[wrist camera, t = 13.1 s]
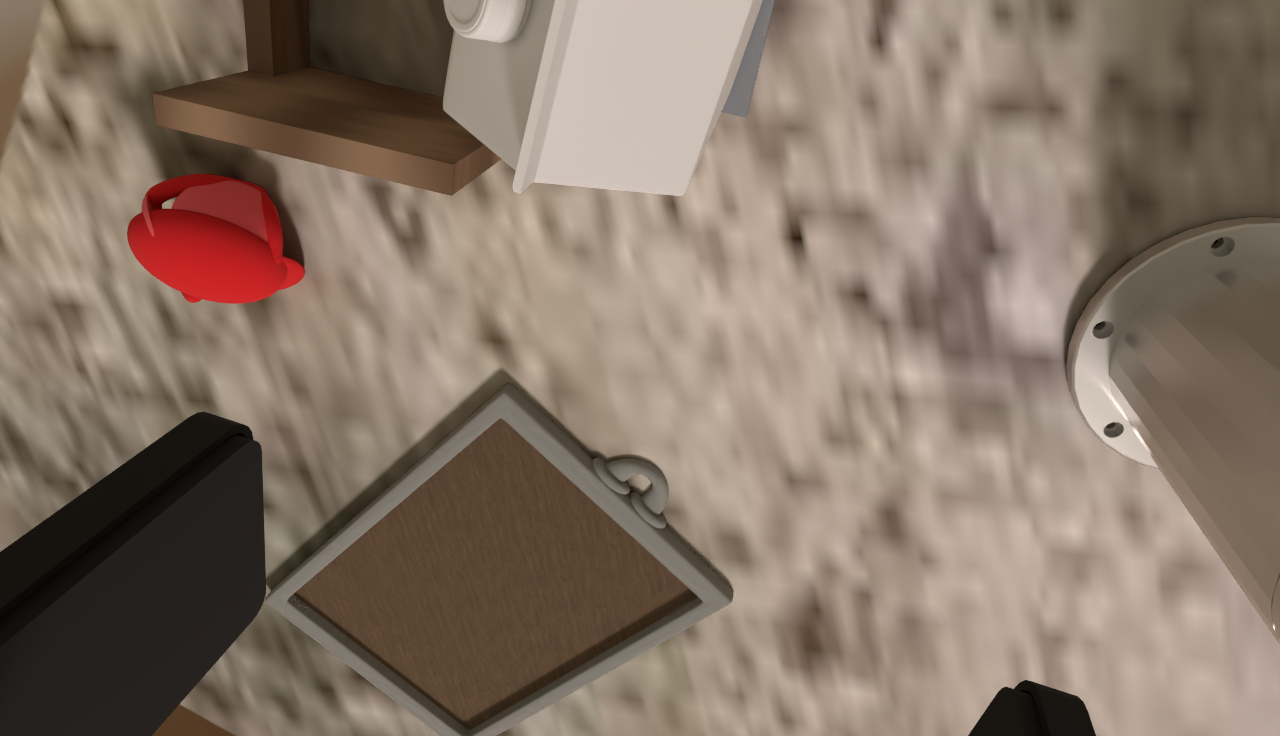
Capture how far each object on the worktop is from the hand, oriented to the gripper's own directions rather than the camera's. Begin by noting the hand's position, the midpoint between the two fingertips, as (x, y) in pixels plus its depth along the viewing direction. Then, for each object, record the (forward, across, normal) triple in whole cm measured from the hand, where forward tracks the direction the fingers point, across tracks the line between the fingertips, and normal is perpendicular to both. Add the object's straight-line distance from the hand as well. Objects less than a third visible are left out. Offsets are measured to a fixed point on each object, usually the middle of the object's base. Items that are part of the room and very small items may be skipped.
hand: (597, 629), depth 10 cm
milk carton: (+29, +6, -5) cm, 30 cm away
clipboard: (+30, +9, +32) cm, 45 cm away
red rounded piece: (+29, +25, +11) cm, 40 cm away
